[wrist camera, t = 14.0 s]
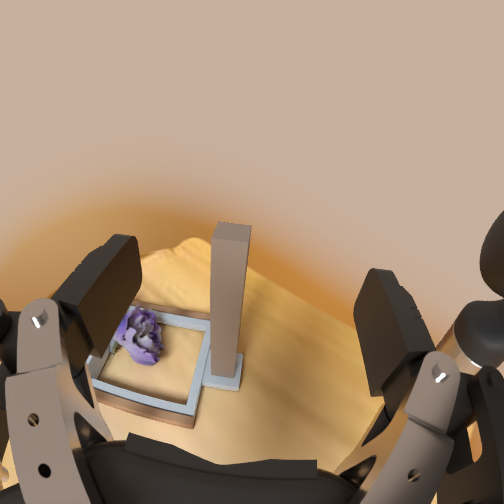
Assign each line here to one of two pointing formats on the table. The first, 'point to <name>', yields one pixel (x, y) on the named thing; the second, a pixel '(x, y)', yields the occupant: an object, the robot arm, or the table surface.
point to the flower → (139, 336)
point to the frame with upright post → (205, 325)
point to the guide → (143, 409)
